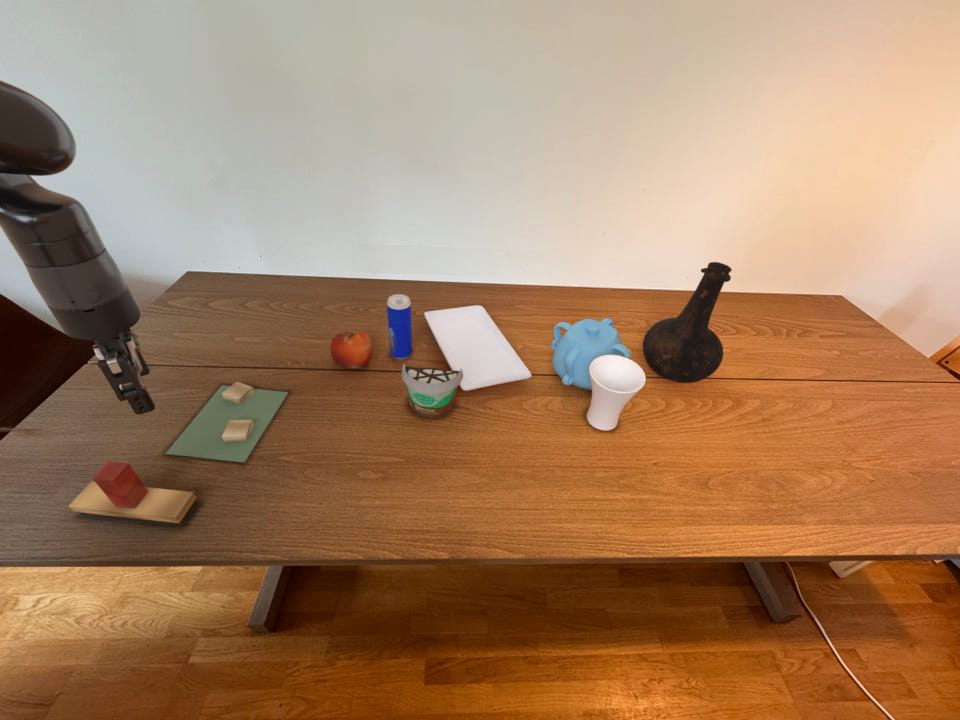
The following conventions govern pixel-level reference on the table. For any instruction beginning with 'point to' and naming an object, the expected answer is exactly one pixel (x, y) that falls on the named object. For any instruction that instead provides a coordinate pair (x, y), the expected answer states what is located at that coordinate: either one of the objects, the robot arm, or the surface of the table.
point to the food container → (431, 390)
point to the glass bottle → (689, 334)
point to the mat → (213, 420)
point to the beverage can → (399, 326)
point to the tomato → (351, 349)
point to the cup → (612, 388)
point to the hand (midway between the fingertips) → (143, 392)
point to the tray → (475, 347)
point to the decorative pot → (584, 349)
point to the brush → (132, 498)
